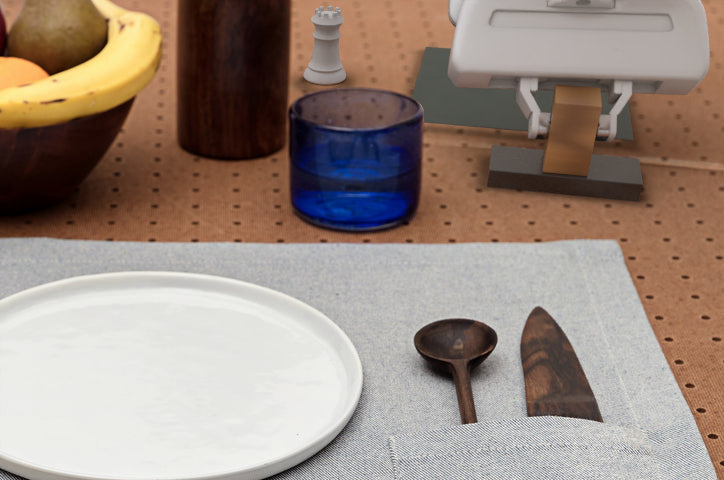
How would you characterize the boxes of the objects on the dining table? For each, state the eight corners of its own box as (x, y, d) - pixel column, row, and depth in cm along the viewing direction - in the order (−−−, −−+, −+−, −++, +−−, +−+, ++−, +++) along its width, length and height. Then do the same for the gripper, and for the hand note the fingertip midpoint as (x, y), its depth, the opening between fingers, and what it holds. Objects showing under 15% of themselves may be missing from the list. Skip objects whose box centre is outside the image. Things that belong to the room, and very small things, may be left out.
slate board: (620, 71, 111) (623, 60, 110) (630, 152, 95) (633, 140, 94) (424, 57, 115) (425, 46, 115) (403, 132, 100) (404, 120, 99)
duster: (634, 179, 91) (656, 89, 86) (637, 206, 87) (660, 113, 82) (488, 166, 93) (502, 77, 89) (485, 191, 90) (499, 100, 85)
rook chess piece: (335, 77, 111) (339, 0, 106) (353, 93, 107) (359, 13, 103) (295, 83, 110) (297, 5, 105) (312, 99, 106) (316, 19, 102)
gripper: (454, -43, 87) (445, 118, 85) (718, -38, 85) (716, 128, 83) (445, -5, 94) (437, 146, 91) (691, 1, 91) (689, 157, 89)
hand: (571, 138), depth 87 cm, fingers closed on duster, 4 cm apart
